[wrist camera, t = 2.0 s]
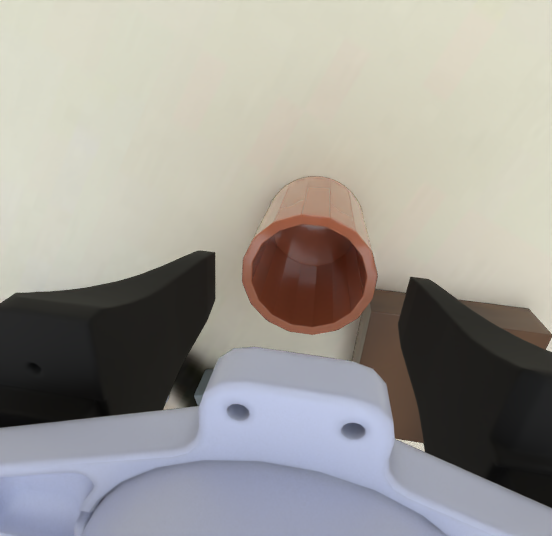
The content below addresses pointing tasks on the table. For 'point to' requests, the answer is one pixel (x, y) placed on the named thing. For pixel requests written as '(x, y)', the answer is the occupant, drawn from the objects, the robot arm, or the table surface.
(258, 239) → the cup
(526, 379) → the robot arm
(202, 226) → the table surface
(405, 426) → the walnut block
